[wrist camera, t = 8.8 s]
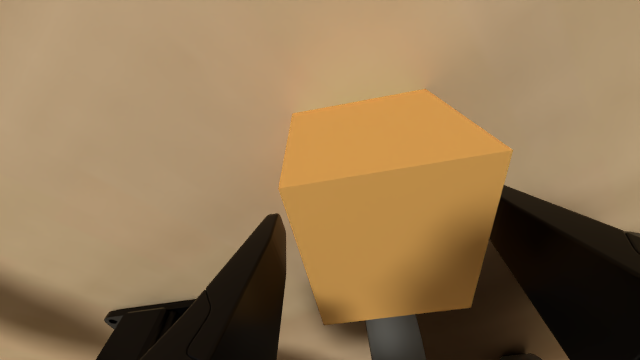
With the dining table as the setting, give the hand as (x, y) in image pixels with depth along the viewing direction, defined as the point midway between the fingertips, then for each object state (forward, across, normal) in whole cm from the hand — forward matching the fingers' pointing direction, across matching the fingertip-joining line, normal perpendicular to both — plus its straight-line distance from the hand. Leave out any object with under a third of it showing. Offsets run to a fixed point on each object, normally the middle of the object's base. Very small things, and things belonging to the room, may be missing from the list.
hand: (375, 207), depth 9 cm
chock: (+3, 0, 0) cm, 3 cm away
